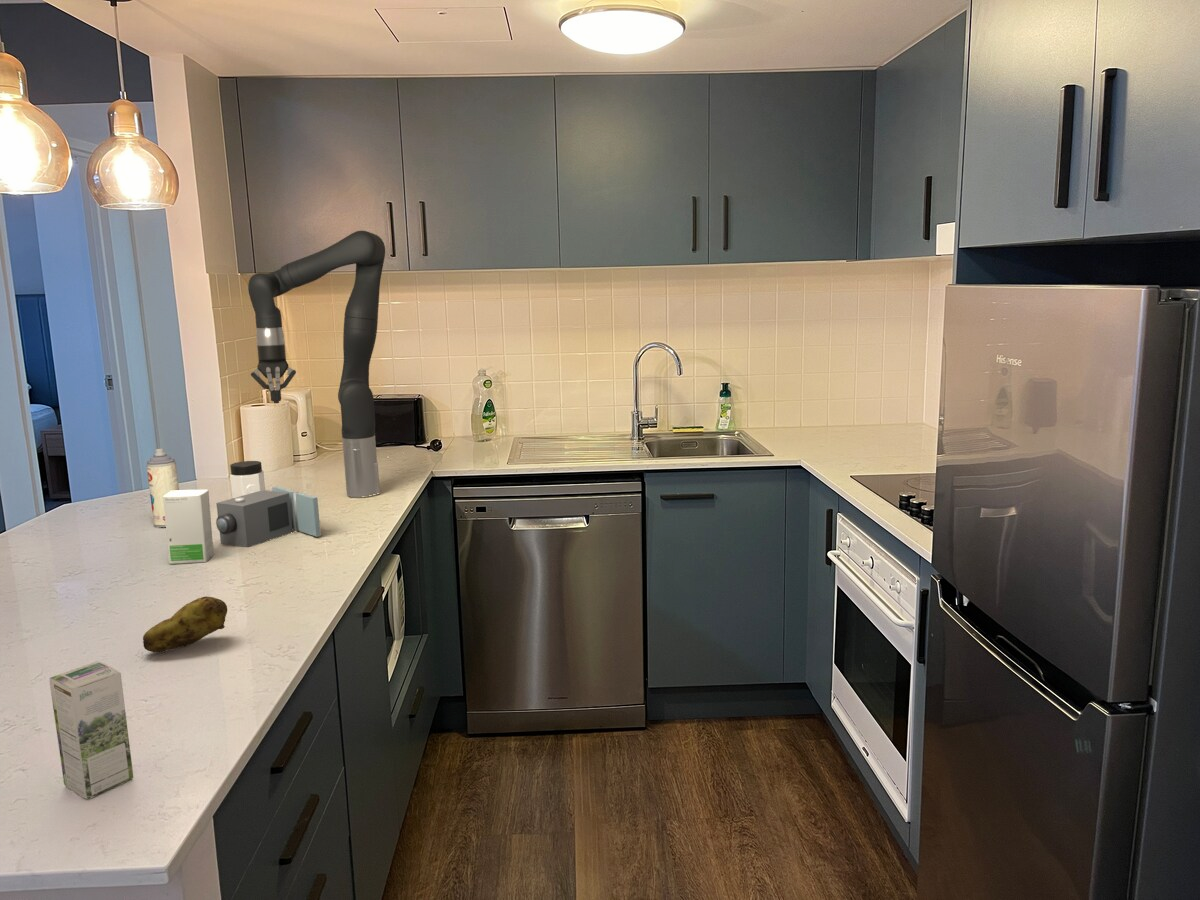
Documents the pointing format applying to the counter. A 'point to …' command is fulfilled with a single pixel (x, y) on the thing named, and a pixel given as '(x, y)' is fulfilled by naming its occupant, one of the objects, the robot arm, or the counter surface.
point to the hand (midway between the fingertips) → (276, 402)
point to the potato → (187, 625)
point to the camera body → (254, 518)
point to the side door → (303, 511)
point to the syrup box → (91, 729)
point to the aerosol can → (161, 483)
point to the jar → (246, 478)
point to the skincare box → (188, 526)
